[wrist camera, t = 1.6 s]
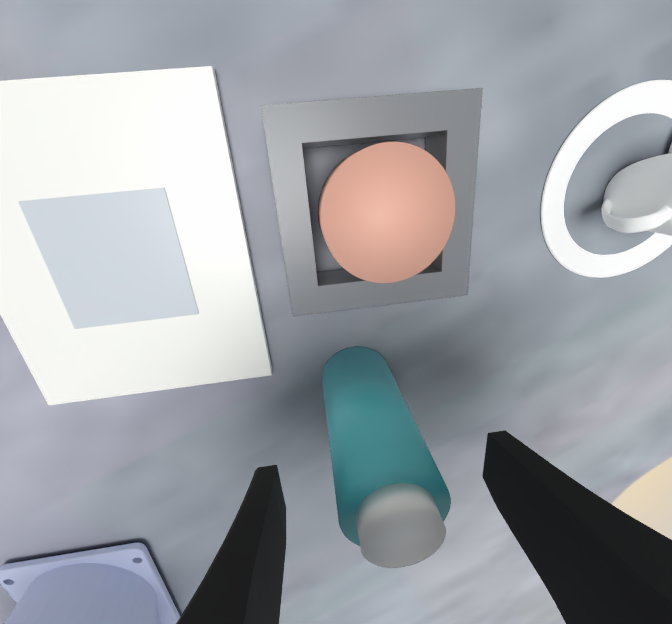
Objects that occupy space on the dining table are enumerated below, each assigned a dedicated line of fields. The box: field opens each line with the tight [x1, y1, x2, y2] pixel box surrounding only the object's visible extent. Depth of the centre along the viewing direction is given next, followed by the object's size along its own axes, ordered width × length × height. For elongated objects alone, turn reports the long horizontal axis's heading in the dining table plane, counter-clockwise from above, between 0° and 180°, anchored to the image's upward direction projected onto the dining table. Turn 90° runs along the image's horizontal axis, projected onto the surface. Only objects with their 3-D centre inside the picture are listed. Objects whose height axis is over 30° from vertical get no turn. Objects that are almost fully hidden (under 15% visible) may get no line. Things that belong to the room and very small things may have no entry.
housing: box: [261, 88, 483, 316], centre depth 12 cm, size 7×7×2 cm
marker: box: [322, 347, 451, 568], centre depth 13 cm, size 3×3×8 cm
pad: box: [0, 66, 272, 405], centre depth 13 cm, size 12×10×1 cm
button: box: [318, 142, 455, 283], centre depth 11 cm, size 4×4×2 cm
